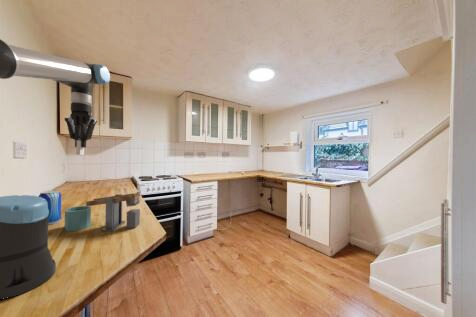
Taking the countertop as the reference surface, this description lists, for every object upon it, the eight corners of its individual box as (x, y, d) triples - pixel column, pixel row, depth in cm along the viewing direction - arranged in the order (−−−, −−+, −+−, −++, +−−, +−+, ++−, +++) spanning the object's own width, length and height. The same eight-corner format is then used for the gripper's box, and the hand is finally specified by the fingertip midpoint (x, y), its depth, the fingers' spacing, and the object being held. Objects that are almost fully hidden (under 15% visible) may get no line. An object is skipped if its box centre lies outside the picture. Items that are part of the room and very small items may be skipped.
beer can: (33, 224, 91) (33, 192, 91) (54, 219, 99) (55, 189, 99) (43, 227, 89) (44, 194, 88) (64, 221, 97) (65, 191, 96)
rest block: (135, 228, 90) (135, 212, 90) (126, 228, 90) (126, 212, 90) (139, 224, 95) (139, 209, 95) (131, 224, 95) (131, 209, 95)
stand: (113, 230, 86) (113, 199, 86) (101, 231, 86) (102, 199, 86) (125, 222, 97) (125, 194, 97) (114, 222, 97) (115, 194, 96)
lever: (147, 198, 104) (146, 188, 104) (135, 205, 89) (133, 194, 89) (106, 204, 102) (105, 194, 102) (86, 212, 87) (85, 201, 87)
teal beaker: (81, 230, 86) (81, 211, 85) (59, 231, 85) (59, 211, 84) (95, 223, 95) (95, 205, 95) (75, 223, 94) (75, 206, 94)
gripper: (101, 107, 91) (100, 155, 91) (72, 105, 89) (71, 154, 89) (90, 102, 83) (89, 154, 83) (59, 100, 82) (58, 154, 82)
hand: (80, 154), depth 86 cm, fingers closed
